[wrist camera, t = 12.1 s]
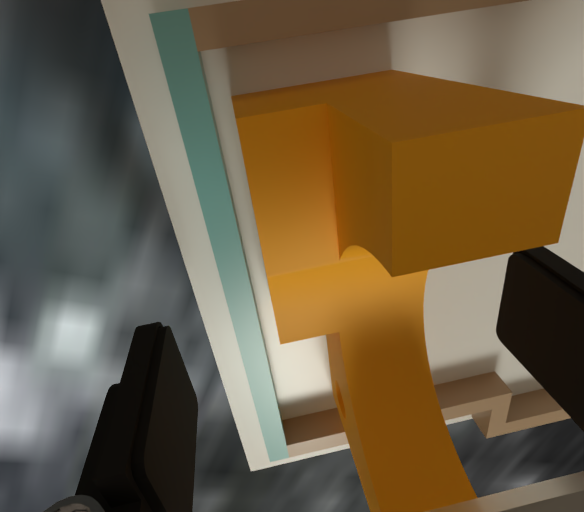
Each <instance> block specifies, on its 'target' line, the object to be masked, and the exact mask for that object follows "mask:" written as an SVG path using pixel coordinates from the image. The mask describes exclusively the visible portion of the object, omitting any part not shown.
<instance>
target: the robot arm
mask: <svg viewBox="0 0 584 512" xmlns="http://www.w3.org/2000/svg"><path fill="white" fill-rule="evenodd" d="M496 334H497V337H498V339H499V340H500V342H501V343H502V344H503V345H504V346H505V347H506V348H507V349H508V350H509V351H510V352H511V354H512V355H513V356H514V357H515V358H516V359H517V360H518V361H519V362H520V363H521V364H522V365H523V366H524V368H525V369H526V370H527V371H528V372H529V373H530V374H531V375H532V376H533V377H534V378H535V379H536V381H537V382H538V383H539V384H540V385H541V386H542V387H543V388H544V389H545V390H546V391H547V392H548V393H549V395H550V396H551V397H552V398H553V399H554V400H555V401H556V402H557V403H558V404H559V405H560V406H561V408H562V409H563V410H564V411H565V412H566V413H567V414H568V415H569V416H570V417H571V418H572V419H573V420H574V422H575V423H576V424H577V425H578V426H579V427H580V428H581V429H582V430H583V431H584V272H583V271H581V270H580V269H578V268H577V267H575V266H573V265H572V264H570V263H569V262H567V261H566V260H564V259H563V258H561V257H559V256H558V255H556V254H555V253H553V252H552V251H550V250H549V249H547V248H545V247H544V246H541V247H536V248H532V249H527V250H522V251H517V252H513V254H512V255H510V257H509V258H508V263H507V268H506V274H505V280H504V285H503V291H502V297H501V302H500V308H499V314H498V319H497V325H496ZM197 416H198V403H197V397H196V394H195V391H194V389H193V386H192V383H191V381H190V378H189V375H188V373H187V370H186V367H185V365H184V362H183V360H182V357H181V354H180V352H179V349H178V346H177V344H176V341H175V338H174V336H173V333H172V330H171V328H170V327H169V326H165V327H163V326H162V324H161V323H160V322H156V323H151V324H147V325H142V326H138V327H136V329H135V332H134V336H133V339H132V343H131V346H130V350H129V353H128V357H127V360H126V364H125V367H124V371H123V374H122V378H121V381H120V383H118V384H114V385H112V386H111V387H110V388H109V390H108V392H107V395H106V398H105V401H104V404H103V407H102V411H101V414H100V417H99V420H98V423H97V427H96V430H95V433H94V436H93V439H92V442H91V446H90V449H89V452H88V455H87V458H86V462H85V465H84V468H83V471H82V474H81V478H80V481H79V484H78V487H77V490H76V494H75V496H70V497H67V498H65V499H63V500H60V501H58V502H56V503H55V504H53V505H52V506H50V507H49V508H48V509H46V510H45V511H43V512H192V506H193V488H194V470H195V452H196V434H197ZM425 512H584V471H583V472H579V473H575V474H571V475H567V476H563V477H559V478H555V479H551V480H547V481H543V482H539V483H535V484H531V485H527V486H523V487H519V488H515V489H511V490H508V491H504V492H500V493H496V494H492V495H488V496H484V497H480V498H476V499H472V500H468V501H464V502H461V503H457V504H453V505H449V506H445V507H441V508H437V509H433V510H429V511H425Z"/></svg>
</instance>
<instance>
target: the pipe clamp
mask: <svg viewBox="0 0 584 512" xmlns="http://www.w3.org/2000/svg"><path fill="white" fill-rule="evenodd" d="M231 99H232V104H233V109H234V114H235V119H236V124H237V129H238V134H239V139H240V144H241V149H242V154H243V160H244V165H245V170H246V175H247V180H248V185H249V190H250V195H251V200H252V205H253V210H254V215H255V220H256V225H257V230H258V235H259V240H260V246H261V251H262V256H263V261H264V266H265V271H266V276H267V281H268V286H269V291H270V296H271V301H272V306H273V311H274V316H275V321H276V326H277V331H278V336H279V341H280V345H281V344H286V343H290V342H295V341H299V340H304V339H309V338H313V337H318V336H323V335H326V338H327V347H328V356H329V364H330V373H331V382H332V391H333V396H334V399H335V402H336V406H337V409H338V412H339V415H340V418H341V421H342V424H343V427H344V431H345V434H346V437H347V440H348V443H349V446H350V449H351V452H352V456H353V459H354V462H355V465H356V468H357V471H358V474H359V477H360V481H361V484H362V487H363V490H364V493H365V496H366V499H367V502H368V505H369V509H370V512H425V511H429V510H433V509H437V508H441V507H445V506H449V505H453V504H457V503H461V502H464V501H468V500H472V499H476V498H477V496H476V494H475V492H474V490H473V488H472V486H471V484H470V482H469V480H468V477H467V475H466V473H465V471H464V469H463V467H462V464H461V462H460V459H459V457H458V455H457V452H456V450H455V447H454V445H453V442H452V440H451V437H450V435H449V432H448V429H447V426H446V423H445V421H444V418H443V415H442V411H441V408H440V405H439V402H438V398H437V395H436V391H435V387H434V383H433V379H432V375H431V371H430V366H429V361H428V355H427V349H426V341H425V332H424V292H425V284H426V279H427V274H428V270H430V269H435V268H440V267H445V266H449V265H454V264H459V263H464V262H469V261H474V260H478V259H483V258H488V257H493V256H498V255H503V254H507V253H512V252H517V251H522V250H527V249H532V248H536V247H541V246H546V245H551V244H556V243H558V242H559V238H560V234H561V229H562V225H563V221H564V217H565V213H566V209H567V205H568V201H569V197H570V193H571V189H572V185H573V181H574V177H575V173H576V169H577V165H578V160H579V156H580V152H581V148H582V144H583V140H584V105H579V104H573V103H568V102H563V101H557V100H552V99H547V98H541V97H536V96H531V95H525V94H520V93H515V92H509V91H504V90H499V89H493V88H488V87H483V86H477V85H472V84H466V83H461V82H456V81H450V80H445V79H440V78H434V77H429V76H424V75H418V74H413V73H408V72H402V71H397V70H387V71H381V72H374V73H368V74H362V75H356V76H350V77H344V78H338V79H332V80H326V81H320V82H314V83H308V84H302V85H296V86H290V87H284V88H277V89H271V90H265V91H259V92H253V93H247V94H241V95H235V96H231Z"/></svg>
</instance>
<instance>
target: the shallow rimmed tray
mask: <svg viewBox="0 0 584 512" xmlns="http://www.w3.org/2000/svg"><path fill="white" fill-rule="evenodd" d="M101 2H102V5H103V9H104V12H105V15H106V18H107V21H108V24H109V27H110V31H111V34H112V37H113V40H114V43H115V46H116V49H117V52H118V56H119V59H120V62H121V65H122V68H123V71H124V74H125V78H126V81H127V84H128V87H129V90H130V93H131V96H132V100H133V103H134V106H135V109H136V112H137V115H138V118H139V121H140V125H141V128H142V131H143V134H144V137H145V140H146V143H147V147H148V150H149V153H150V156H151V159H152V162H153V165H154V169H155V172H156V175H157V178H158V181H159V184H160V187H161V190H162V194H163V197H164V200H165V203H166V206H167V209H168V212H169V216H170V219H171V222H172V225H173V228H174V231H175V234H176V237H177V241H178V244H179V247H180V250H181V253H182V256H183V259H184V263H185V266H186V269H187V272H188V275H189V278H190V281H191V285H192V288H193V291H194V294H195V297H196V300H197V303H198V306H199V310H200V313H201V316H202V319H203V322H204V325H205V328H206V332H207V335H208V338H209V341H210V344H211V347H212V350H213V354H214V357H215V360H216V363H217V366H218V369H219V372H220V375H221V379H222V382H223V385H224V388H225V391H226V394H227V397H228V401H229V404H230V407H231V410H232V413H233V416H234V419H235V422H236V426H237V429H238V432H239V435H240V438H241V441H242V444H243V448H244V451H245V454H246V457H247V460H248V463H249V466H250V470H251V471H255V470H259V469H263V468H267V467H272V466H276V465H280V464H284V463H288V462H293V461H297V460H301V459H305V458H309V457H313V456H318V455H322V454H326V453H330V452H334V451H339V450H343V449H347V448H350V446H349V443H348V440H347V437H346V434H345V431H344V427H343V424H342V421H341V418H340V415H339V412H338V409H337V406H336V402H335V399H334V396H333V391H332V382H331V373H330V364H329V356H328V347H327V338H326V335H323V336H318V337H313V338H309V339H304V340H299V341H295V342H290V343H286V344H281V345H280V341H279V336H278V331H277V326H276V321H275V316H274V311H273V306H272V301H271V296H270V291H269V286H268V281H267V276H266V271H265V266H264V261H263V256H262V251H261V246H260V240H259V235H258V230H257V225H256V220H255V215H254V210H253V205H252V200H251V195H250V190H249V185H248V180H247V175H246V170H245V165H244V160H243V154H242V149H241V144H240V139H239V134H238V129H237V124H236V119H235V114H234V109H233V104H232V99H231V96H235V95H241V94H247V93H253V92H259V91H265V90H271V89H277V88H284V87H290V86H296V85H302V84H308V83H314V82H320V81H326V80H332V79H338V78H344V77H350V76H356V75H362V74H368V73H374V72H381V71H387V70H397V71H402V72H408V73H413V74H418V75H424V76H429V77H434V78H440V79H445V80H450V81H456V82H461V83H466V84H472V85H477V86H483V87H488V88H493V89H499V90H504V91H509V92H515V93H520V94H525V95H531V96H536V97H541V98H547V99H552V100H557V101H563V102H568V103H573V104H579V105H584V0H101ZM544 247H545V248H547V249H549V250H550V251H552V252H553V253H555V254H556V255H558V256H559V257H561V258H563V259H564V260H566V261H567V262H569V263H570V264H572V265H573V266H575V267H577V268H578V269H580V270H581V271H583V272H584V140H583V144H582V148H581V152H580V156H579V160H578V165H577V169H576V173H575V177H574V181H573V185H572V189H571V193H570V197H569V201H568V205H567V209H566V213H565V217H564V221H563V225H562V229H561V234H560V238H559V242H558V243H556V244H551V245H546V246H544ZM512 254H513V252H512V253H507V254H503V255H498V256H493V257H488V258H483V259H478V260H474V261H469V262H464V263H459V264H454V265H449V266H445V267H440V268H435V269H430V270H428V274H427V279H426V284H425V292H424V332H425V341H426V349H427V355H428V361H429V366H430V371H431V375H432V379H433V383H434V387H435V391H436V395H437V398H438V402H439V405H440V408H441V411H442V415H443V418H444V421H445V423H446V425H447V424H452V423H456V422H460V421H464V420H468V419H472V418H473V419H474V421H475V422H476V424H477V425H478V427H479V428H480V430H481V431H482V433H483V434H484V436H485V437H486V438H490V437H494V436H498V435H503V434H507V433H511V432H515V431H519V430H523V429H527V428H531V427H535V426H539V425H544V424H548V423H552V422H556V421H560V420H564V419H568V418H571V417H570V416H569V415H568V414H567V413H566V412H565V411H564V410H563V409H562V408H561V406H560V405H559V404H558V403H557V402H556V401H555V400H554V399H553V398H552V397H551V396H550V395H549V393H548V392H547V391H546V390H545V389H544V388H543V387H542V386H541V385H540V384H539V383H538V382H537V381H536V379H535V378H534V377H533V376H532V375H531V374H530V373H529V372H528V371H527V370H526V369H525V368H524V366H523V365H522V364H521V363H520V362H519V361H518V360H517V359H516V358H515V357H514V356H513V355H512V354H511V352H510V351H509V350H508V349H507V348H506V347H505V346H504V345H503V344H502V343H501V342H500V340H499V339H498V337H497V334H496V325H497V319H498V314H499V308H500V302H501V297H502V291H503V285H504V280H505V274H506V268H507V263H508V258H509V257H510V255H512Z"/></svg>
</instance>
